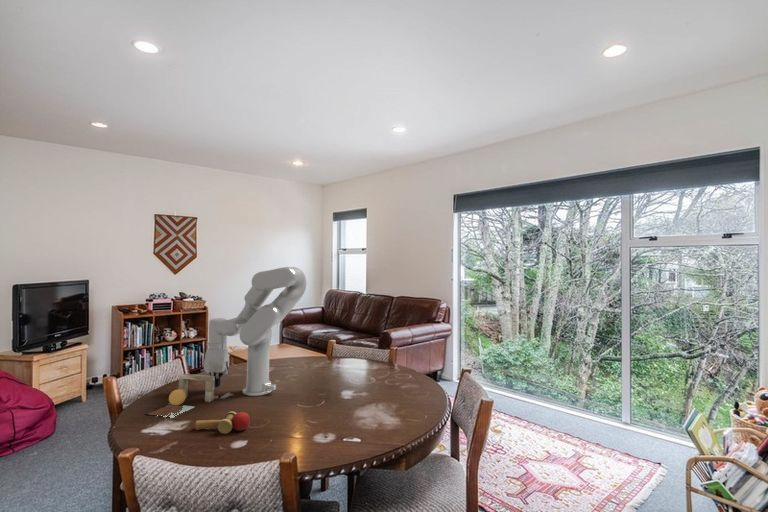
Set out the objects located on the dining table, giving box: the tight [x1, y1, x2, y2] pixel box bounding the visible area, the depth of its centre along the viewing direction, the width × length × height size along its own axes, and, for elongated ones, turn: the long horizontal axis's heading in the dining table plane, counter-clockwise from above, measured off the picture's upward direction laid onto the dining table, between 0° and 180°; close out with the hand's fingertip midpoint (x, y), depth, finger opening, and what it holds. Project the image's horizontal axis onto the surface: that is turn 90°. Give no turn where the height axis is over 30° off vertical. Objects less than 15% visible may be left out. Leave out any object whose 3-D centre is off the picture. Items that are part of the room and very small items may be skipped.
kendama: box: [194, 410, 251, 434], centre depth 134 cm, size 8×6×18 cm
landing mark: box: [156, 404, 195, 419], centre depth 150 cm, size 12×12×1 cm
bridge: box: [177, 373, 215, 403], centre depth 164 cm, size 3×15×10 cm, turn 76°
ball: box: [168, 389, 187, 405], centre depth 157 cm, size 6×6×6 cm
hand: (216, 386), depth 177 cm, fingers closed
